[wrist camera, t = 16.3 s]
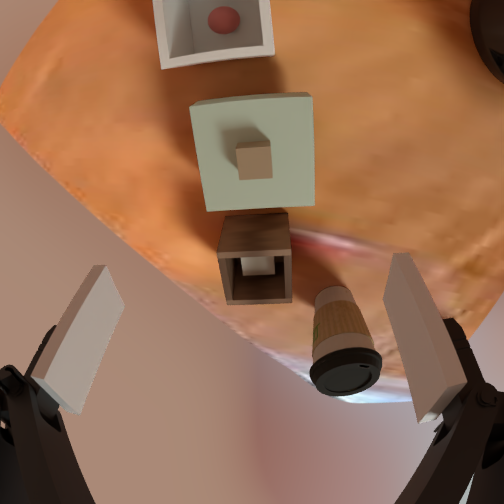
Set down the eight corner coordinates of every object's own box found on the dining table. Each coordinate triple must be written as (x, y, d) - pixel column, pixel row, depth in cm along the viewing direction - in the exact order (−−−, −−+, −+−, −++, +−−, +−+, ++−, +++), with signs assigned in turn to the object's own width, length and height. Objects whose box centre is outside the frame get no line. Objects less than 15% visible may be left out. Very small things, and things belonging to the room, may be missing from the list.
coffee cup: (293, 312, 50) (297, 393, 38) (321, 269, 44) (335, 353, 32) (343, 326, 51) (357, 401, 39) (374, 286, 46) (399, 365, 34)
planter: (265, -17, 23) (264, -44, 15) (273, 56, 28) (275, 54, 20) (181, -5, 24) (149, -25, 15) (190, 65, 29) (161, 69, 21)
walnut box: (287, 212, 39) (291, 249, 33) (289, 262, 44) (292, 303, 37) (225, 216, 40) (216, 252, 33) (233, 265, 45) (227, 305, 38)
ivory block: (272, 230, 40) (273, 248, 37) (274, 255, 42) (274, 274, 39) (242, 231, 40) (239, 249, 37) (245, 256, 43) (243, 275, 39)
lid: (307, 92, 28) (315, 99, 23) (310, 189, 34) (317, 215, 29) (198, 100, 29) (183, 110, 24) (212, 195, 35) (203, 221, 30)
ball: (239, 7, 24) (236, 1, 21) (242, 33, 26) (240, 30, 23) (209, 11, 24) (203, 6, 22) (212, 37, 26) (206, 35, 24)
